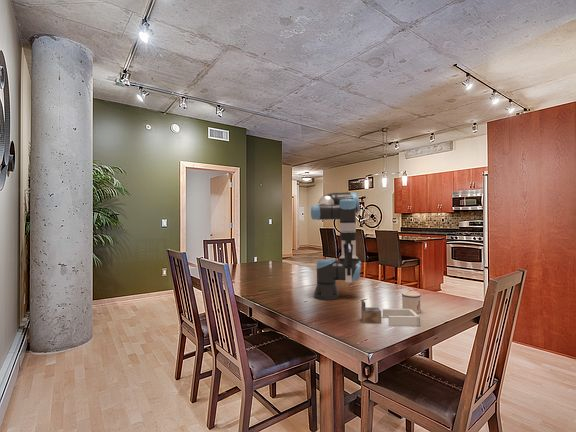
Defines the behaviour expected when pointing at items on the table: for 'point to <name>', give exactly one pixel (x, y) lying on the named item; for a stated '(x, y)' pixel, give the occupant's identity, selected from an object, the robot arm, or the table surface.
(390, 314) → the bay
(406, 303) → the teacup with lid
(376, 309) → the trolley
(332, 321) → the table surface
